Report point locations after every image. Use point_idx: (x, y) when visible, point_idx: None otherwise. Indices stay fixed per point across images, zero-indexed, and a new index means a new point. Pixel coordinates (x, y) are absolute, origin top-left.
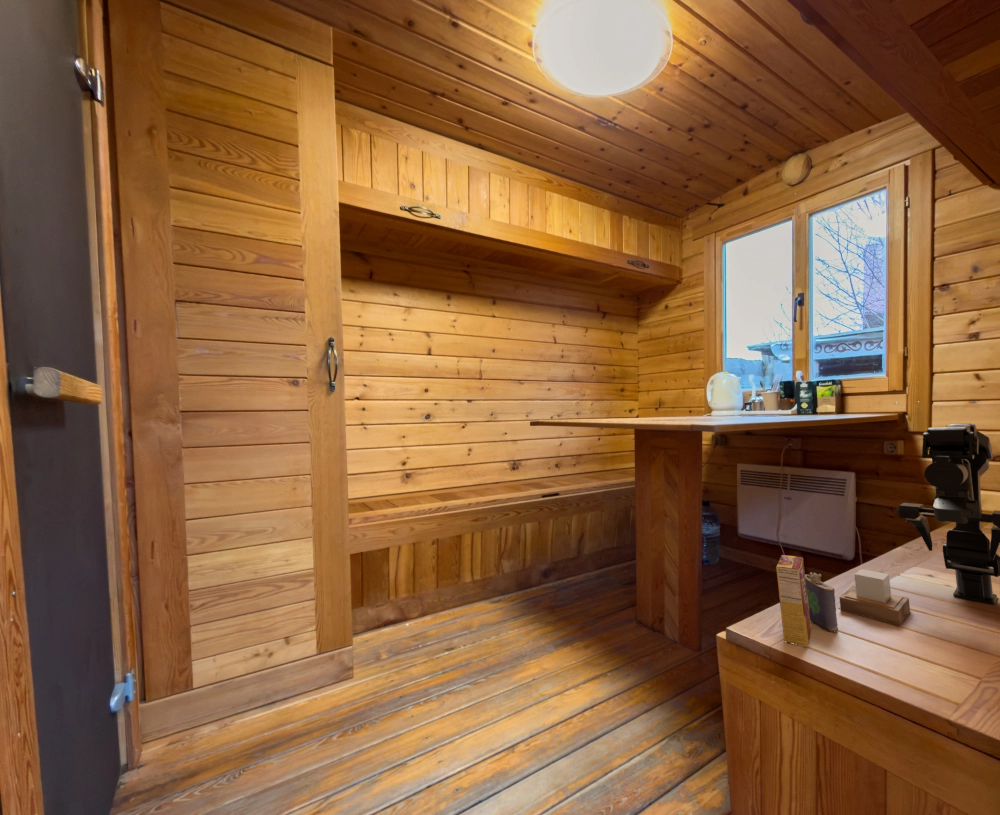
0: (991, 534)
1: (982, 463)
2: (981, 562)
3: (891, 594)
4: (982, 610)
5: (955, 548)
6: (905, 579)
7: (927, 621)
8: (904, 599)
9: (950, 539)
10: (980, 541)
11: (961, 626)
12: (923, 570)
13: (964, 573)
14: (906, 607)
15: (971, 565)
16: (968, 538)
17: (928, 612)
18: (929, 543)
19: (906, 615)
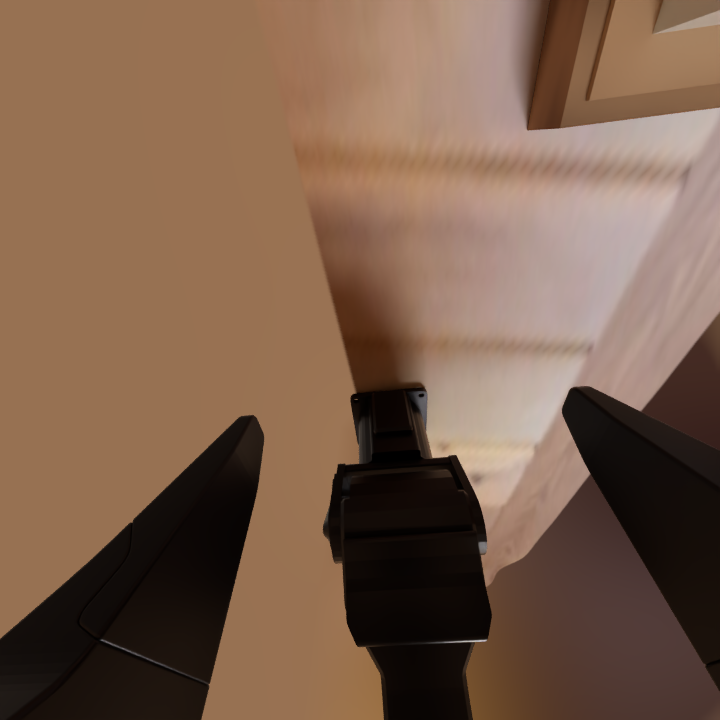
0: (31, 701)
1: None
2: (365, 487)
3: (640, 86)
4: (359, 338)
5: (445, 527)
6: (523, 430)
7: (469, 41)
8: (583, 70)
9: (470, 574)
10: (368, 591)
11: (367, 109)
12: (488, 496)
13: (409, 447)
14: (561, 43)
15: (393, 473)
16: (409, 599)
17: (470, 185)
18: (628, 425)
19: (546, 29)
